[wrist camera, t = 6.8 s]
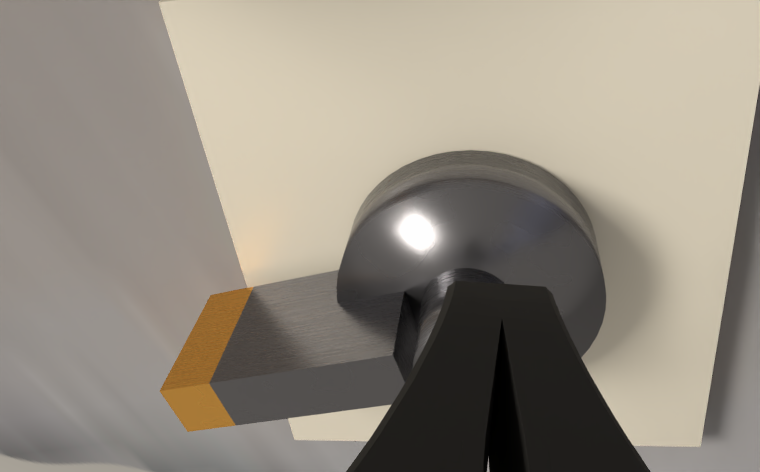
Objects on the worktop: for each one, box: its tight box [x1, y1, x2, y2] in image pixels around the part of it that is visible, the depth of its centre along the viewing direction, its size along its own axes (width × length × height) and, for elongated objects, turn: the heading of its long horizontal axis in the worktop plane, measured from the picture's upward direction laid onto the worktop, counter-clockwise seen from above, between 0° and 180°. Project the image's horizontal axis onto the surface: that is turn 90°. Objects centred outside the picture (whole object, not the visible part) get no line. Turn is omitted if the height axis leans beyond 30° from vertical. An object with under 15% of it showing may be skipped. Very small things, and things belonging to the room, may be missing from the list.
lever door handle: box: [160, 150, 606, 432], centre depth 19 cm, size 12×7×4 cm, turn 109°
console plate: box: [159, 0, 760, 447], centre depth 20 cm, size 14×16×1 cm
